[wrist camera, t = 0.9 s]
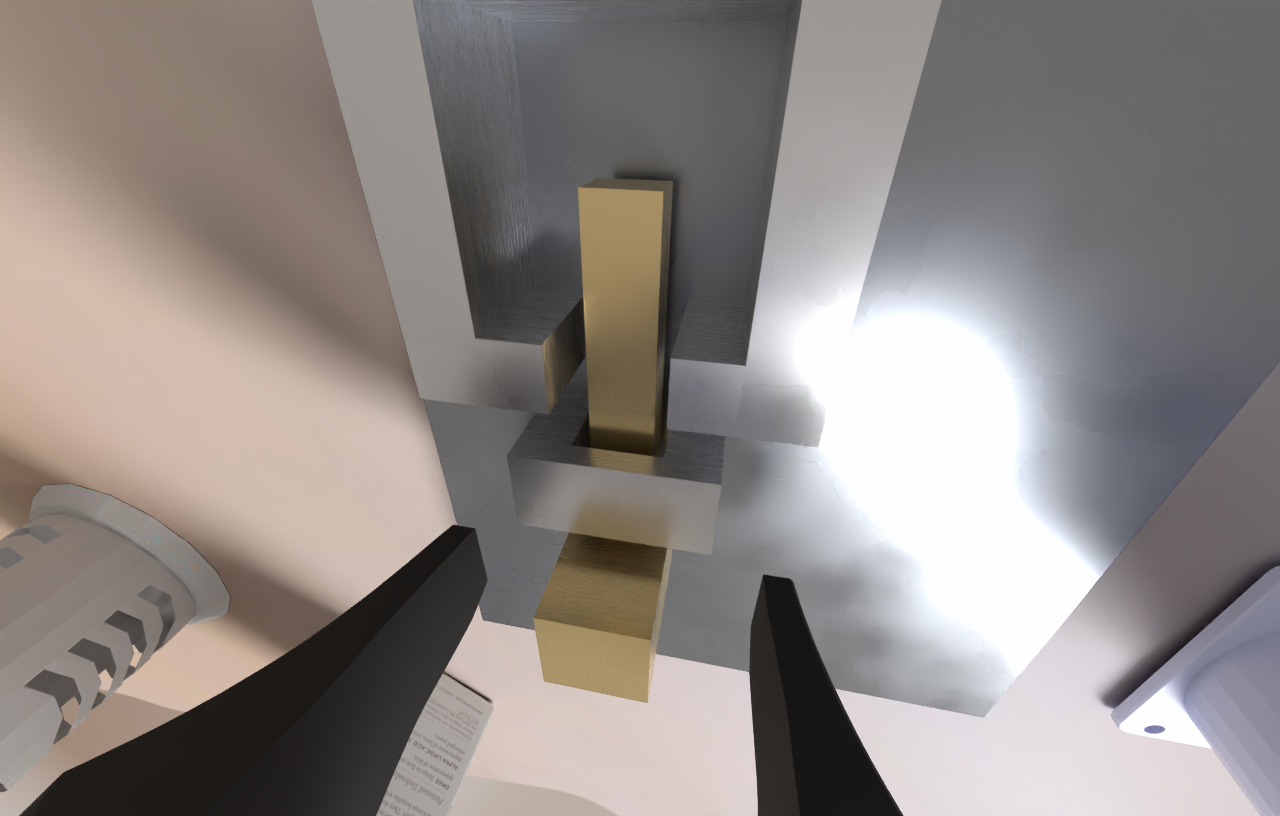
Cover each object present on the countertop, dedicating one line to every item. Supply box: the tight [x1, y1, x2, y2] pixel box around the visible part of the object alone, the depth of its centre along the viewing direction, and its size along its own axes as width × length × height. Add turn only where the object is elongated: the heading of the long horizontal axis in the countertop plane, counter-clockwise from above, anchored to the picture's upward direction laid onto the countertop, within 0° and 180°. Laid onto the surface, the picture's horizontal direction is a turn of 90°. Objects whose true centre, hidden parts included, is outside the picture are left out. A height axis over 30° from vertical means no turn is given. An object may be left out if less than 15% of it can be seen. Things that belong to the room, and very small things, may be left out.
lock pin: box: [533, 178, 673, 703], centre depth 10 cm, size 2×10×4 cm, turn 179°
